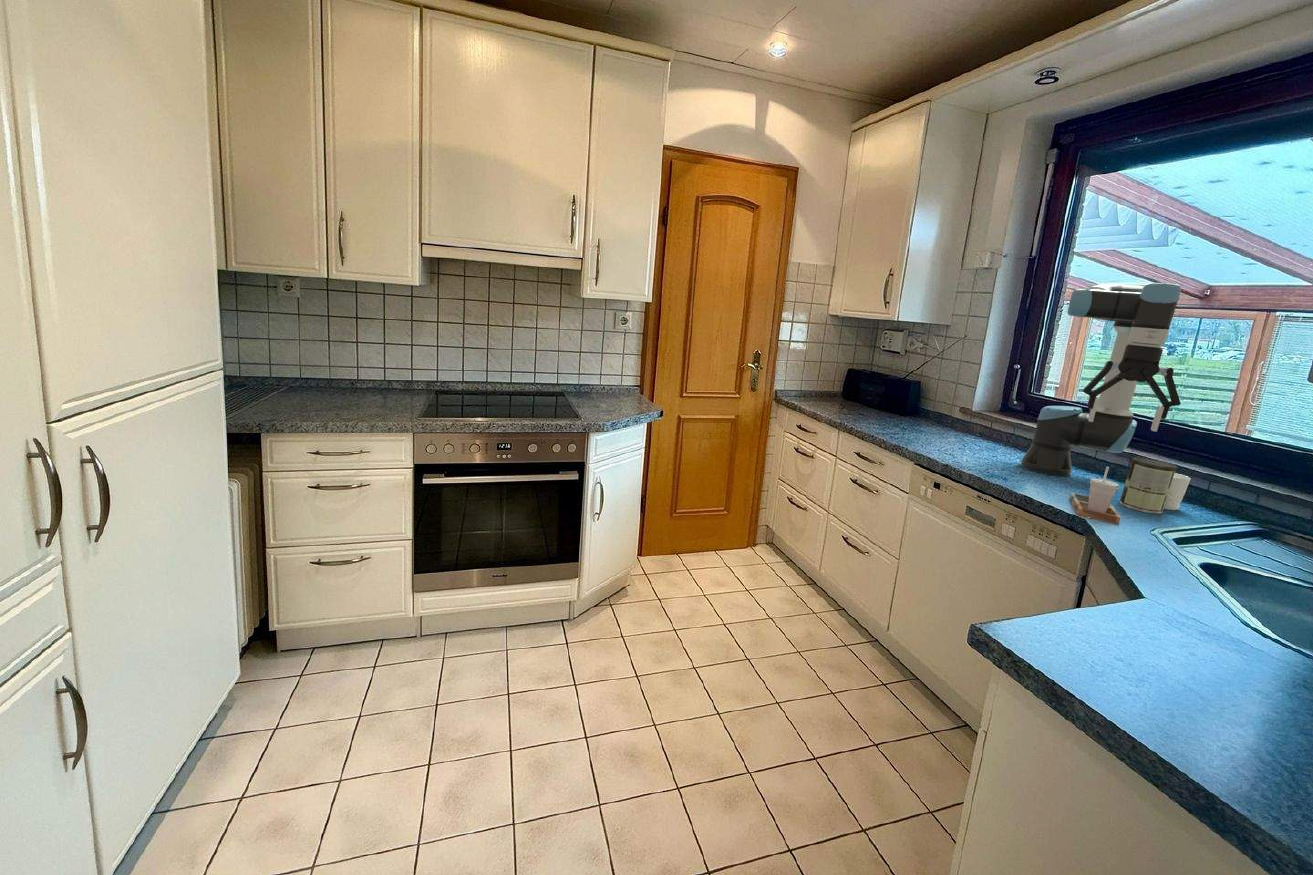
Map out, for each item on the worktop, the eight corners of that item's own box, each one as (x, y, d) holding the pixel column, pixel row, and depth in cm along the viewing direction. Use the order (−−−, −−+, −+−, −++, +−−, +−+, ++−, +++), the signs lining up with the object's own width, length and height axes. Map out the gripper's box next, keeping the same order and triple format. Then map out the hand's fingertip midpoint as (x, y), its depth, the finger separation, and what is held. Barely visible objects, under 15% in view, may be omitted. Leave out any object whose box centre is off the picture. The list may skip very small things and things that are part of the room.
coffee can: (1110, 499, 178) (1124, 455, 174) (1146, 503, 177) (1160, 459, 174) (1134, 511, 168) (1148, 464, 164) (1171, 515, 167) (1187, 469, 164)
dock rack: (1069, 498, 174) (1070, 492, 173) (1106, 506, 170) (1108, 500, 169) (1077, 515, 158) (1079, 508, 158) (1118, 524, 154) (1121, 517, 154)
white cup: (1186, 510, 174) (1196, 478, 172) (1170, 511, 171) (1181, 479, 169) (1156, 501, 181) (1166, 470, 179) (1140, 502, 178) (1150, 471, 176)
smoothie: (1075, 511, 162) (1089, 463, 159) (1090, 510, 164) (1104, 463, 161) (1099, 520, 156) (1114, 470, 153) (1114, 519, 159) (1129, 470, 155)
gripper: (1088, 339, 152) (1067, 419, 157) (1213, 352, 140) (1185, 437, 145) (1084, 339, 158) (1063, 415, 163) (1203, 351, 147) (1177, 432, 152)
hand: (1121, 425), depth 154 cm, fingers open, 13 cm apart
